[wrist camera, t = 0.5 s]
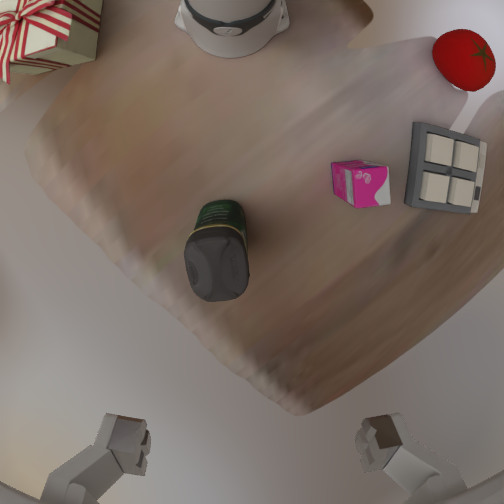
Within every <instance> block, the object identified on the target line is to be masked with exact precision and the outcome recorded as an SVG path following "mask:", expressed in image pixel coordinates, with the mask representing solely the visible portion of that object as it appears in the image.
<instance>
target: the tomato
mask: <svg viewBox="0 0 504 504" xmlns="http://www.w3.org/2000/svg"><path fill="white" fill-rule="evenodd" d="M432 55H433V59H434V62H435V64H436V66H437V68H438V69H439V71H440V72H441V73H442V75H443V76H444V77H445V78H446V79H447V80H448V81H449V82H451V83H452V84H453V85H455V86H456V87H458V88H460V89H462V90H464V91H477V90H479V89H481V88H483V87H484V86H485V85H487V84H488V83H489V82H490V80H491V79H492V77H493V75H494V73H495V68H496V63H495V58H494V55H493V53H492V51H491V49H490V47H489V45H488V44H487V42H486V41H485V40H484V39H483V38H482V37H481V36H480V35H479V34H477V33H475V32H473V31H471V30H466V29H458V30H453V31H450V32H447V33H445V34H443V35H442V36H440V37H439V38H438V39H437V40H436V42H435V43H434V45H433V50H432Z"/></svg>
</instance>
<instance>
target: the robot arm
mask: <svg viewBox="0 0 504 504" xmlns="http://www.w3.org/2000/svg"><path fill="white" fill-rule="evenodd" d="M282 17H283V19H281V18H282ZM289 24H290V21H289V16H288V11H287V6H286V2H285V0H182V1H181V3H180V6H179V9H178V12H177V15H176V18H175V25H176V26H177V27H178V28H179V29H181V30H183V31H185V32H187V33H188V34H189V35H190V36H191V38H192V39H193V41H194V42H195V43H196V44H197V45H198V46H199V47H200V48H201V49H202V50H204V51H205V52H207V53H209V54H212V55H215V56H218V57H223V58H238V57H243V56H247V55H250V54H252V53H254V52H256V51H258V50H260V49H261V48H262V47H264V46H265V45H266V44H267V43H268V42H269V40H270V39H271V38H272V37H273V36H274V35H276V34H278V33H280V32H283V31H285V30H286V29H287V28H288V27H289ZM361 424H362V428H360V429H359V430H358V431H357V434H356V438H355V443H356V449H357V451H358V452H359V453H360V454H362V457H361V459H360V461H361V464H362V468H363V471H364V473H365V472H371V471H376V470H381V469H383V471H384V472H386V473H387V474H388V475H389V476H390V477H391V478H392V479H393V480H395V481H396V482H397V483H398V484H399V485H400V486H401V487H402V488H403V489H405V490H406V491H407V492H408V493H409V494H410V495H411V496H410V497H409V498H408V499H407V500H406V501H405V502H404V503H403V504H504V470H503V471H501V472H499V473H497V474H496V475H494V476H492V477H490V478H488V479H487V480H485V481H483V482H481V483H479V484H477V485H475V486H473V487H471V488H469V489H467V487H466V485H465V482H464V480H463V478H462V476H461V474H460V472H459V470H458V468H457V467H456V466H455V465H454V464H452V463H450V462H449V461H447V460H446V459H444V458H443V457H441V456H439V455H438V454H436V453H435V452H433V451H431V450H430V449H429V448H427V447H425V446H424V445H422V444H421V443H419V442H414V439H413V437H412V435H411V433H410V431H409V429H408V427H407V425H406V423H405V421H404V418H403V417H402V415H401V414H400V413H394V414H389V415H381V416H376V417H370V418H365V419H364V420H363V421H362V423H361ZM146 427H147V424H146V421H145V420H144V419H137V418H131V417H125V416H120V415H115V414H109V413H106V414H105V416H104V418H103V420H102V423H101V426H100V428H99V431H98V434H97V437H96V440H95V443H94V445H93V446H92V445H90V446H88V447H87V448H85V449H84V450H83V451H81V452H80V453H78V454H77V455H76V456H74V457H73V458H71V459H70V460H69V461H67V462H66V463H64V464H63V465H61V466H60V467H59V468H57V469H56V470H54V471H53V472H51V473H50V474H49V477H48V479H47V482H46V484H45V487H44V490H43V493H42V496H41V498H40V500H39V499H36V498H34V497H32V496H30V495H27V494H25V493H23V492H21V491H19V490H16V489H15V488H13V487H10V486H8V485H6V484H4V483H3V482H1V481H0V504H99V503H98V502H97V500H98V499H99V498H100V497H101V496H102V495H103V494H104V493H105V492H106V491H107V490H108V489H109V488H110V487H111V486H112V485H113V484H114V483H115V482H116V481H117V480H118V479H119V478H120V477H121V476H122V475H123V473H128V474H134V475H140V476H145V472H146V467H147V460H146V458H145V456H146V455H148V454H149V452H150V445H151V437H150V433H149V431H148V430H146Z"/></svg>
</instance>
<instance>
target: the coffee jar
mask: <svg viewBox="0 0 504 504" xmlns="http://www.w3.org/2000/svg"><path fill="white" fill-rule="evenodd" d="M184 259H185V265H186V271H187V275H188V278H189V281H190V285H191V288H192V290H193V291H194V293H195V294H196V295H197V296H198V297H200V298H201V299H203V300H205V301H207V302H216V301H226V300H232V299H236V298H237V297H239V296H240V295H241V294H243V293H244V291H245V290H246V288H247V286H248V281H249V276H250V274H249V264H248V249H247V231H246V222H245V217H244V213H243V210H242V208H241V206H240V205H239V204H238V203H237V202H235V201H232V200H218V201H213V202H210V203H208V204H206V205H204V206H203V208H202V209H201V211H200V213H199V216H198V219H197V223H196V226H195V229H194V231H193V232H192V233H191V234H190V235H189V237H188V239H187V242H186V247H185V251H184Z"/></svg>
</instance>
